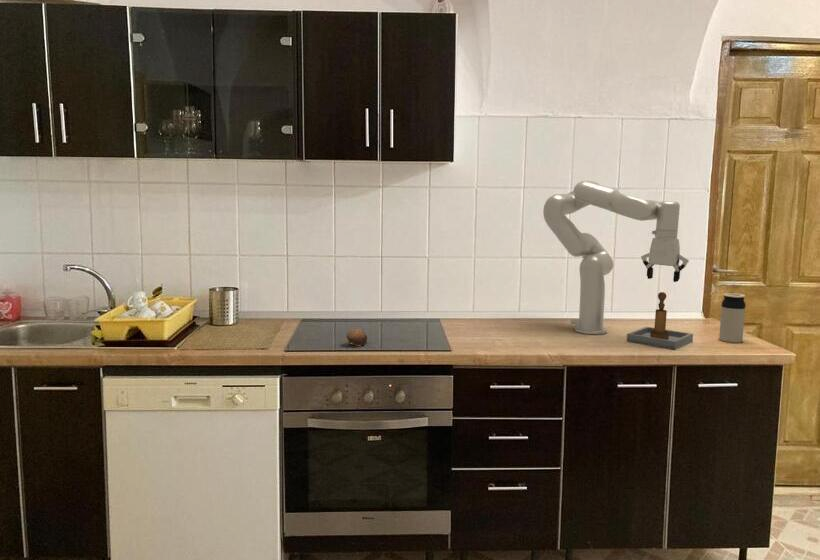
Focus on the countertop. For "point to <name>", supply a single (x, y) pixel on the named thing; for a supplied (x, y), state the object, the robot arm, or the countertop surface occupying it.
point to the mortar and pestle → (660, 320)
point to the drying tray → (672, 343)
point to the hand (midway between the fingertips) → (662, 280)
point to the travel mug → (732, 318)
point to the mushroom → (356, 337)
